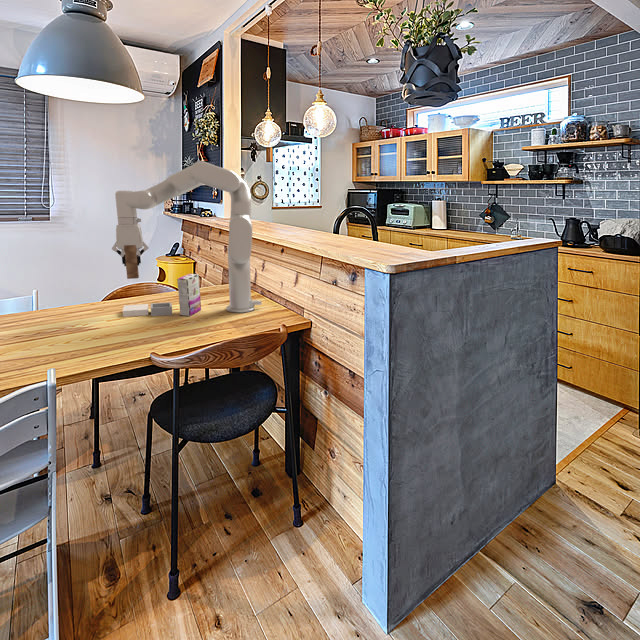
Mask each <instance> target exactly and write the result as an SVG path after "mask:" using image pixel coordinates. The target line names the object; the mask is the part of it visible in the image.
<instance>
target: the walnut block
mask: <svg viewBox="0 0 640 640" xmlns="http://www.w3.org/2000/svg"><path fill="white" fill-rule="evenodd" d="M124 251H125V253H124V254H125V261H126V266H125V268H126V269H125V270H126V279H127V280H130V279H140V274H139V266H138V265H137V252H136V245H124Z"/></svg>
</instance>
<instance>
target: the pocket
mask: <svg viewBox="0 0 640 640" xmlns="http://www.w3.org/2000/svg"><path fill="white" fill-rule="evenodd" d="M150 315H151V316H150V317H158V316H159V317H160V316H162V317H163V316H173V306H172V302H169V301H168V302H160V303H159V302H154V303H153V302H152V303H150Z"/></svg>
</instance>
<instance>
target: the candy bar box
mask: <svg viewBox="0 0 640 640" xmlns="http://www.w3.org/2000/svg"><path fill="white" fill-rule="evenodd" d="M176 280H177V293H178V303H179V315H180V316H181V315H183V316H182V317H191V316H193V315H195V314H197V313H199V312H201V310H202V305H201V304H202V303H201V301H202V300H201V289H200V276H199V274H198V273H196V274H195V273H188V274H186V275H183V276H180V277H178V278H177V279H176Z"/></svg>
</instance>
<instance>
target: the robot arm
mask: <svg viewBox="0 0 640 640" xmlns="http://www.w3.org/2000/svg"><path fill="white" fill-rule="evenodd" d="M203 185H205V186H208V187H211V188H214V189H216V190H217V189H218V190H220V191H224V192H226V193H228V194H229V197H230V218H229V221H228V222H229V223H228V229H229V230H228V245H227V263H228V290H229V292H228V295H229V305H226V311H227V312H230V313H236V314H237V313H239V314H240V313H241V314H242V313H249V312H252V311H254V310H255V306H262V300H258V299H253V298H252V293H251V292H252V291H251V290H252V287H251V259H250V258H251V254H252V245H253V223H252V220H251V213H252V212H251V211H252V209H251V208H252V198H251V197H252V196H251V192H250V189H249V186H248V184H247V183H246V182H245V180H244V179H243V178H242V177H241V176H240V175H239V174H238V173H236V172H235V171H233V170H230V169H227V168H225V167H221V166H217V165H214V164H212V163H210V162H206V161H203V160H198V161H196V162H194V163H193V164H192V165H190V166H187V167H185V168H183V169H181V170H179V171H177V172H175V173H173V174H170V175H169V176H168V177H167V178H165V180H162V181H161V182H159V183H157V184H155V185H154V186H151V187H149V188H147V189H145V190H143V189H142V190H137V191H134V190H133V191H132V190H117V191H116V192H115V205H116V216H117V224H116V225H115V226H116V227H115V228H116V229H115V241H116V242H115V243H114V244H113V246H112V247H111V250H112V251H114V252H115V253H117V254H118V256H120V257H121V262H122V263H121V264H122V265H123V266H124V267H126V261H125V251H124V245H136V252H137V265H138V267H139V266H140V265H141V264H142V262H141V261H142V260H141V256H142V255H143V254H144V252H146V251H147V250H149V246H148V245H147V244H146V243H145V241H144V240H143V239H144V238H143V234H142V228H141V224H138V223H142V219H141V218H138V214H137V213H138V212H137V211H138V210H149V209H152V208H155V207H157V206H158V205H161V204H163V203H164V202H167V201H169V200H171V199H173V198H176V197H179V196H181V195H184V194H186V193H188V192H190V191H192V190H194V189H196V188H199V187H200V186H203ZM137 209H138V210H137Z"/></svg>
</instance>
